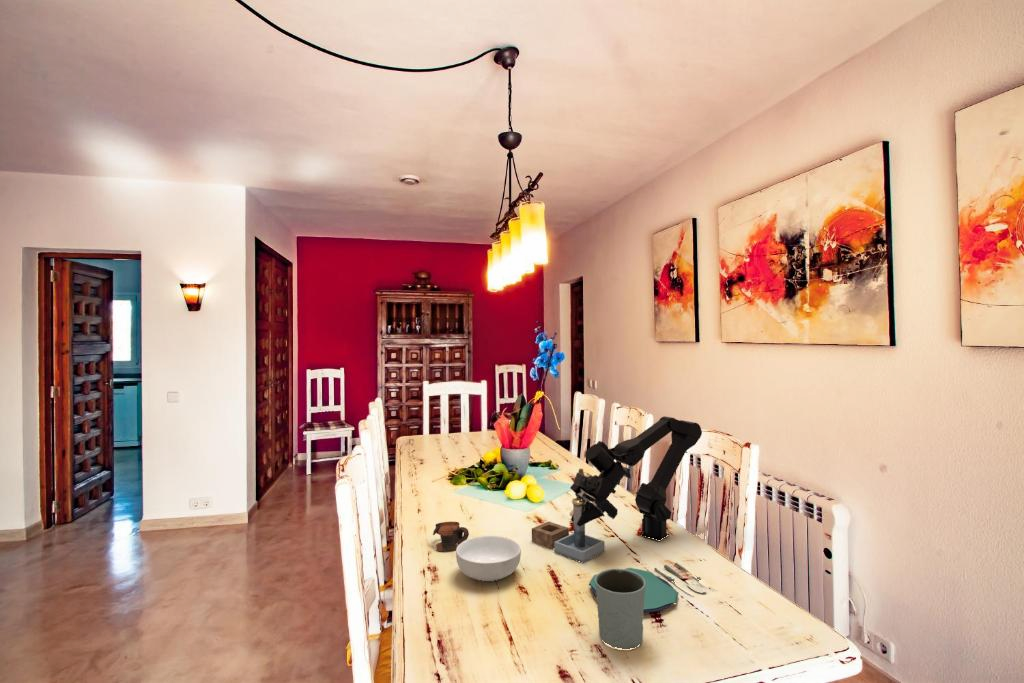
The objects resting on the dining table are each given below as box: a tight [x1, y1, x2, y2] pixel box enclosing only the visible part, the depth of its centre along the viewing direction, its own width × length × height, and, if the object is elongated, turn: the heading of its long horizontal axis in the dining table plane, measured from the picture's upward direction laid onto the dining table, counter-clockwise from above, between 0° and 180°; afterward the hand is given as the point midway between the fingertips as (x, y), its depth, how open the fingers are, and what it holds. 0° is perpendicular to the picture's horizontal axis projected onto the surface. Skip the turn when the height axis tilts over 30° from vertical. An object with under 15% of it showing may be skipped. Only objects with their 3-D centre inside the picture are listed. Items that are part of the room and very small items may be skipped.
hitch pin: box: [571, 498, 586, 548], centre depth 140 cm, size 4×4×13 cm
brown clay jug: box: [432, 521, 470, 552], centre depth 147 cm, size 12×10×8 cm
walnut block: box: [531, 521, 570, 550], centre depth 148 cm, size 8×8×4 cm
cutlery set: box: [588, 562, 702, 614], centre depth 118 cm, size 20×30×2 cm, turn 111°
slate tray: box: [553, 532, 606, 564], centre depth 140 cm, size 10×10×3 cm
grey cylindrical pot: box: [595, 568, 646, 649], centre depth 99 cm, size 10×10×12 cm
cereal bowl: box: [455, 535, 522, 582], centre depth 128 cm, size 17×17×7 cm
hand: (575, 523), depth 140 cm, fingers closed on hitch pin, 3 cm apart
